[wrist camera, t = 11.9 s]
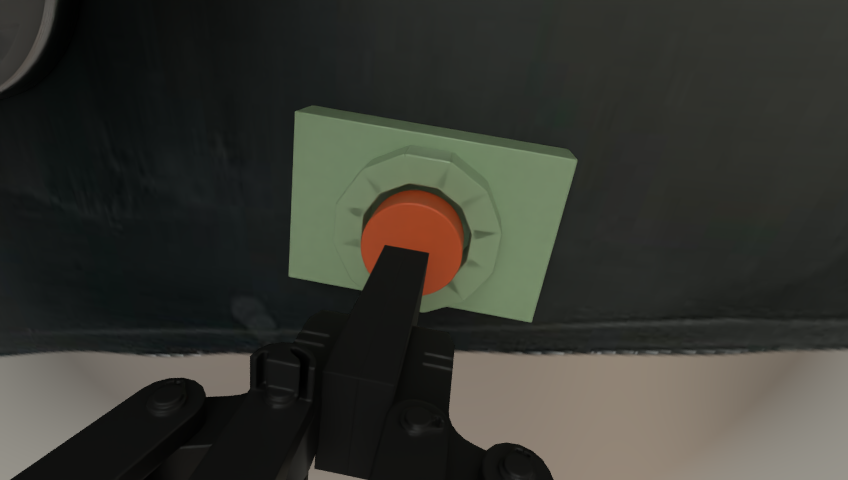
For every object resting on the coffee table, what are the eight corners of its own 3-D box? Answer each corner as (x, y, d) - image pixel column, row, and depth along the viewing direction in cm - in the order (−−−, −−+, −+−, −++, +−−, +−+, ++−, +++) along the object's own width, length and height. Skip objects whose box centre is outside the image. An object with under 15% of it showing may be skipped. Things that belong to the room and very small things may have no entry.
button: (365, 268, 20) (355, 287, 19) (375, 181, 19) (365, 194, 17) (454, 285, 20) (452, 305, 19) (472, 198, 19) (471, 212, 17)
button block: (303, 258, 25) (273, 295, 21) (311, 105, 22) (277, 116, 18) (527, 300, 24) (535, 345, 21) (568, 149, 21) (587, 170, 17)
